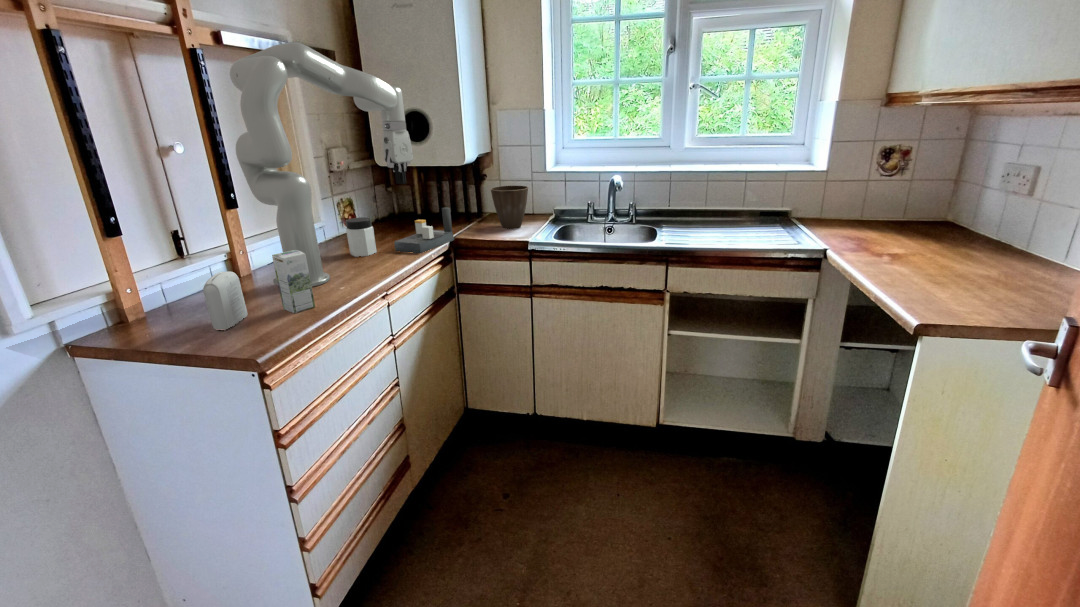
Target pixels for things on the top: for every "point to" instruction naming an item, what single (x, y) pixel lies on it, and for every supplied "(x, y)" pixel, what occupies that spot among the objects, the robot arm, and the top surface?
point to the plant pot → (510, 205)
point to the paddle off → (427, 232)
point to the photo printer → (224, 300)
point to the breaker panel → (423, 242)
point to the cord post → (447, 219)
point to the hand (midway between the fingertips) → (401, 183)
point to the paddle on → (419, 225)
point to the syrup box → (293, 281)
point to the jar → (360, 237)
